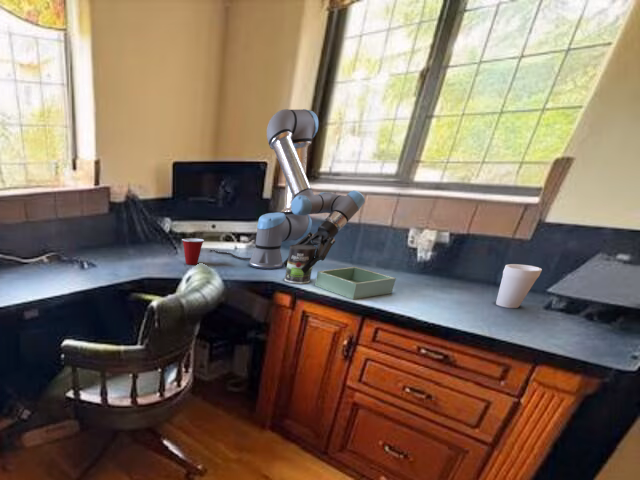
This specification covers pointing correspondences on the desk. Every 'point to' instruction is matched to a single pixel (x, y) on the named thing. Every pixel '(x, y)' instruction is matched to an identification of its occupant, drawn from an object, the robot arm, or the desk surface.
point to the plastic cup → (192, 250)
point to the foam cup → (516, 284)
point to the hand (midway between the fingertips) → (293, 268)
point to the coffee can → (299, 263)
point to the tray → (355, 282)
